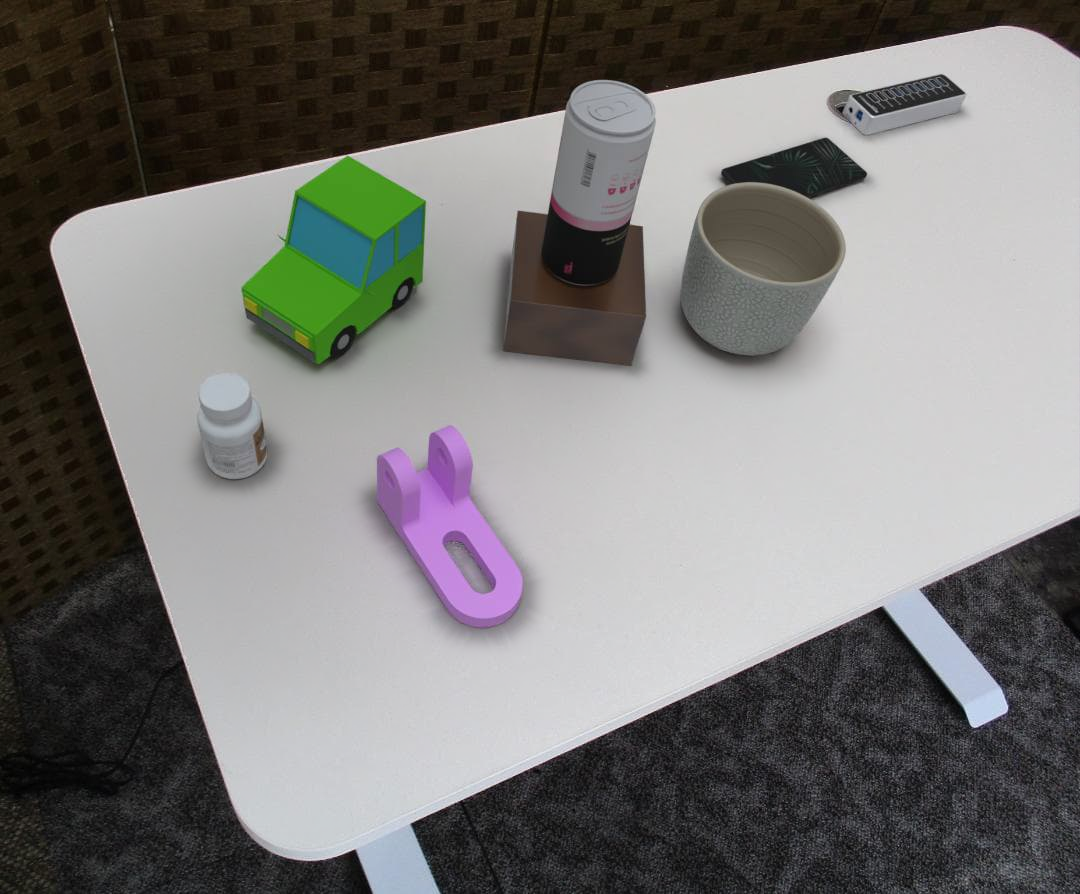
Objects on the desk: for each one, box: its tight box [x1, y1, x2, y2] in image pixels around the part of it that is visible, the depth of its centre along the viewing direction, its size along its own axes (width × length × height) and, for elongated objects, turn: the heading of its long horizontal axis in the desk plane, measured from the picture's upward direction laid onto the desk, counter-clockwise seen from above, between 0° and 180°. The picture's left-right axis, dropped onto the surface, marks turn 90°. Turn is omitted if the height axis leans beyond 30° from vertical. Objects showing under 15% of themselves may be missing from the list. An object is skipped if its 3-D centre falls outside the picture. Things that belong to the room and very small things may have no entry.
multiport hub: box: [841, 73, 967, 136], centre depth 112 cm, size 4×14×2 cm, turn 118°
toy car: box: [241, 155, 427, 365], centre depth 80 cm, size 10×13×10 cm
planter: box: [680, 182, 847, 356], centre depth 85 cm, size 12×12×11 cm
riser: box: [502, 210, 647, 366], centre depth 85 cm, size 11×11×6 cm
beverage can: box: [541, 79, 657, 286], centre depth 77 cm, size 7×7×15 cm
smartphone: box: [720, 137, 868, 198], centre depth 103 cm, size 7×1×15 cm
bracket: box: [376, 424, 524, 629], centre depth 69 cm, size 13×6×7 cm, turn 33°
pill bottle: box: [196, 372, 268, 480], centre depth 71 cm, size 4×4×8 cm
